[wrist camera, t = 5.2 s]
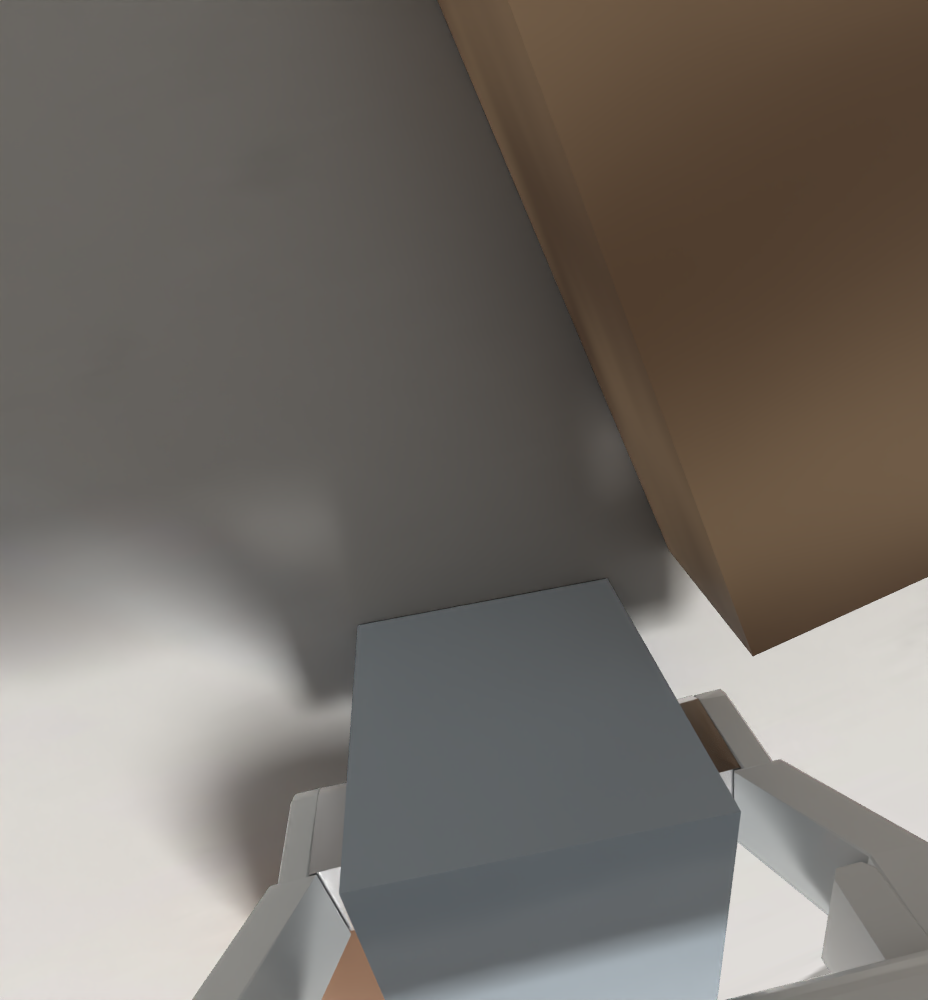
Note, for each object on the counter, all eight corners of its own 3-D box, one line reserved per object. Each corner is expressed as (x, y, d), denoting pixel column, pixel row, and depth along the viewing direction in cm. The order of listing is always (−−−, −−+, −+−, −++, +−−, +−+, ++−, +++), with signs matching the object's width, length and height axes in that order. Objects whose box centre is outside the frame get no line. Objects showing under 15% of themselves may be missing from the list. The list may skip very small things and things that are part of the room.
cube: (613, 748, 14) (716, 1002, 10) (405, 789, 14) (413, 1067, 9) (607, 578, 12) (741, 811, 7) (357, 625, 11) (338, 893, 7)
